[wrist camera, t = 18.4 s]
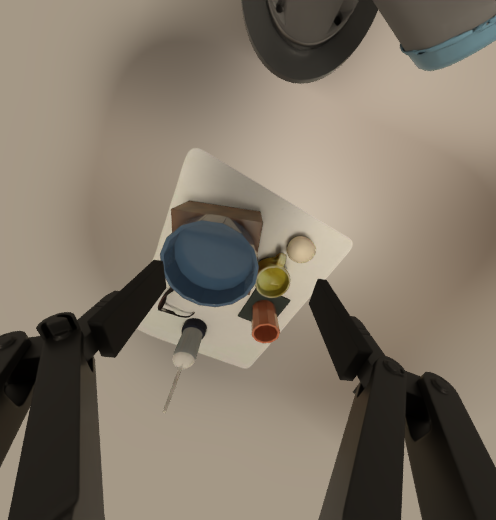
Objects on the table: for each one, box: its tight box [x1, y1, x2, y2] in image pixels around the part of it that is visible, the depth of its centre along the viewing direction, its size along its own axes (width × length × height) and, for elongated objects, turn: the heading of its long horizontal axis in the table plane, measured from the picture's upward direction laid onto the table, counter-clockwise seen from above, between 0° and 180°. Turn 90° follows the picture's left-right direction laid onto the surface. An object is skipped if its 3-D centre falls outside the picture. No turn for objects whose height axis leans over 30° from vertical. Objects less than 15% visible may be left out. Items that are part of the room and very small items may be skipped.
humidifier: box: [163, 318, 207, 413], centre depth 52 cm, size 8×8×25 cm
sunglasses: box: [158, 288, 194, 318], centre depth 56 cm, size 10×12×5 cm
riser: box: [171, 201, 263, 295], centre depth 43 cm, size 18×18×11 cm
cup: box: [252, 300, 280, 343], centre depth 54 cm, size 8×8×10 cm
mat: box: [238, 288, 290, 322], centre depth 58 cm, size 14×12×1 cm
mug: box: [255, 253, 290, 298], centre depth 48 cm, size 12×10×10 cm
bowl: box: [160, 214, 259, 307], centre depth 36 cm, size 18×18×5 cm
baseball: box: [287, 236, 316, 263], centre depth 46 cm, size 7×7×7 cm
